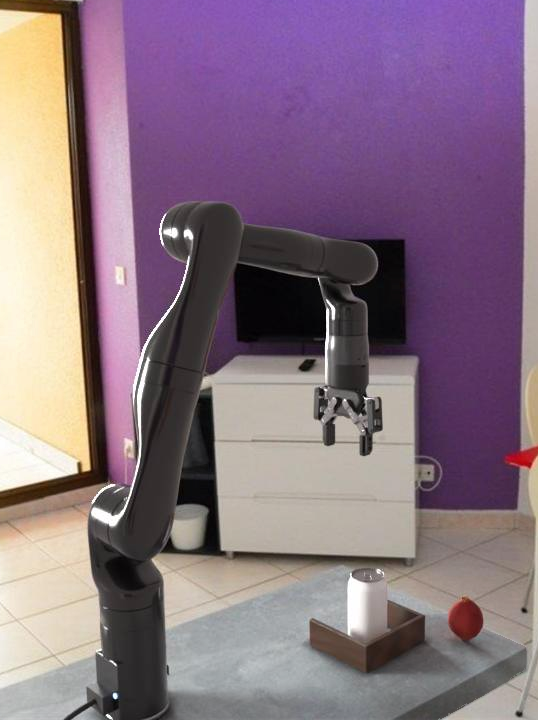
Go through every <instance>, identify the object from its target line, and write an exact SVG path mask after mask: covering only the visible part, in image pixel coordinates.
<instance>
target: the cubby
mask: <svg viewBox="0 0 538 720" xmlns="http://www.w3.org/2000/svg"><path fill="white" fill-rule="evenodd" d="M387 628H390V630H387V632H386V633H384V634H383V635H381V636H379V637H377V638H375V639H373V640H371V641H369V642H367V643H364V642H362V641H360V640H358V639H356V638H354V637H352V636H350V635H348V633H345V632H343V631H341V630H339V629H338V628H335V627H334V626H330V625H328V624H326V623H324V622H322V621H321V620H318V619H316V618H314V617H312V618H310V619H309V645H310V646H311V647H314V648H315V649H318V650H320V651H321V652H323V653H324V654H327V655H329V656H331V657H333V658H334V659H337V660H339V661H341V662H343V663H345V664H347V665H349V666H351V667H353V668H354V669H357V670H358V671H361V672H362V673H364V674H368V673H369V672H371V671H373V670H376V669H377V668H379V667H380V666H382V665H384V664H386V663H387V662H389V661H391V660H393V659H394V658H397V657H398V656H399V655H401V654H403V653H405V652H407V651H408V650H410V649H413V648H414V647H416V646H417V645H419V644H421V643H423V642H425V641H426V615H425V614H423V613H420V612H418V611H416V610H414V609H411V608H409V607H406V606H405V605H401V604H399V603H397V602H394V601H391V600H390V599H387Z"/></svg>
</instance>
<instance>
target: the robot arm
mask: <svg viewBox="0 0 538 720" xmlns="http://www.w3.org/2000/svg"><path fill="white" fill-rule="evenodd" d="M159 235H160V240H161V244H162V246H163V248H164V250H165V251H166V253H168V255H169V256H171V258H173V259H174V260H177V261H178V262H181V263H184V264H187V265H186V270H185V274H184V277H183V281H182V284H181V286H180V290H179V292H178V294H177V296H176V298H175V300H174V302H173V303H172V305H171V306H170V308H169V309H168V310H167V312H166V313H165V314H164V316H162V318H161V320H160V321H159V322H158V323H157V325H156V327H155V328H154V329H153V331H152V332H151V334H150V335H149V337H148V339H147V341H146V343H145V344H144V346H143V349H142V352H141V356H140V359H139V364H138V368H137V372H136V376H135V379H134V384H133V387H132V388H133V389H132V409H133V416H134V423H135V424H134V425H135V430H136V431H135V432H136V439H137V459H136V466H135V470H134V474H133V478H132V482H131V484H130V485H129V484H127V483H114V484H113V483H112V484H110V485H108V486H106V487H104V488H102V489H101V490H100V491H99V492H98V494H96V496H94V499H93V500H92V502H91V505H90V507H89V511H88V515H87V525H86V526H87V543H88V553H89V561H90V562H89V564H90V573H91V577H92V581H93V583H94V585H95V588H96V590H97V593H98V595H97V596H98V614H99V615H98V616H99V633H100V635H99V637H100V649H98V650H96V651H95V656H94V657H95V673H96V681H94V682H92V683H90V684H87V685H86V687H85V688H86V702H85V703H84V704H82V705H80V706H79V707H77V708H76V709H74V710H73V711H72V712H70V713H69V714H68V715H66V716H65V717H64V718H63V719H62V720H73V719H74V718H76V717H78V716H79V715H80V714H82V713H84V712H85V711H86V710H88V709H89V708H93V709H94V710H95V711H96V712H98V713H99V714H100V715H101V716H103V717H104V718H106V720H158V719H159V718H161V717H162V716H164V715H165V713H167V711H168V709H169V707H170V697H169V685H168V682H169V681H168V676H170V666H169V664H168V659H167V657H168V655H167V634H166V633H167V632H166V604H165V582H164V576H163V575H162V573H161V571H160V569H158V567H157V565H155V563H154V562H153V560H152V559H155V557H156V556H158V555H159V554H160V553H161V552H162V550H163V549H164V548H165V546H166V545H167V544H168V543H167V542H168V540H169V539H170V536H171V534H172V530H173V526H174V522H175V516H176V509H177V502H178V495H179V489H180V481H181V475H182V469H183V463H184V458H185V453H186V449H187V445H188V441H189V436H190V431H191V427H192V423H193V419H194V415H195V411H196V410H195V409H196V407H197V403H198V400H199V398H200V397H199V396H200V393H201V388H202V385H203V382H204V378H205V373H206V367H207V363H208V359H209V354H210V350H211V345H212V344H213V343H212V342H213V339H214V335H215V332H216V328H217V325H218V322H219V317H220V314H221V310H222V307H223V304H224V301H225V297H226V295H227V292H228V289H229V286H230V284H231V281H232V278H233V276H234V273H235V270H236V268H237V265H238V264H243V265H247V266H253V267H257V268H261V269H266V270H270V271H274V272H278V273H284V274H288V275H293V276H299V277H305V278H316V279H317V280H318V283H319V286H320V291H321V295H322V299H323V303H324V305H325V310H326V336H325V337H326V338H325V345H324V354H325V355H324V356H325V357H324V358H325V359H324V366H325V367H324V369H325V370H324V371H325V372H324V373H325V375H324V376H325V378H324V379H325V380H324V382H325V383H324V384H325V385H321V386H317V387H315V388H314V391H313V414H312V416H313V419H314V420H315V421H319V422H320V424H321V426H322V441H323V445H324V447H325V446H327V447H331V446H334V445H335V444H336V423H335V422H336V420H337V419H338V417H344V418H346V419H348V420H349V419H350V420H351V422H352V424H353V425H355V426H356V427H357V429H358V432H359V433H360V434H359V437H358V438H359V444H358V445H359V446H358V447H359V449H358V450H359V451H358V452H359V456H360V457H367V456H370V455H371V454H372V452H373V447H374V446H373V444H374V443H373V439H374V438H373V436H374V434H376V433H380V432H382V431H383V429H384V426H383V402H382V400H383V399H382V398H381V396H375V397H370V396H368V394H367V393H368V392H367V388H368V386H369V384H370V343H369V335H368V333H369V332H368V327H369V325H368V322H369V321H368V320H369V319H368V317H369V316H368V305H367V302H366V301H365V300H363V299H361V298H360V297H358V296H355V294H354V293H353V291H352V289H351V285H352V286H361V285H365V284H367V283H369V282H370V281H371V280H373V278H374V277H375V276H376V274H377V271H378V268H379V261H378V260H379V259H378V257H377V254H376V252H375V251H374V249H372V247H370V246H369V245H367V244H365V243H364V242H359V241H352V240H345V239H335V238H328V237H325V236H321V235H319V234H315V233H310V232H307V231H301V230H297V229H291V228H285V227H277V226H268V225H267V226H265V225H257V224H252V223H251V224H250V223H245V222H244V220H243V217H242V215H241V213H240V211H239V209H237V208H236V206H234V205H233V204H231V203H229V202H225V201H216V200H215V201H213V200H212V201H211V200H189V201H184V202H180V203H178V204H175V205H174V206H172V207H171V208H170V209H169V210H168V211H166V213H165V214H164V216H163V218H162V220H161V223H160V228H159ZM360 415H361V416H360Z"/></svg>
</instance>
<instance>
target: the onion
mask: <svg viewBox="0 0 538 720" xmlns="http://www.w3.org/2000/svg"><path fill="white" fill-rule="evenodd" d="M446 619H447V625H448V627H449V629H450V631H451V632H452V633H453V634H454V635H455V636H456V637H457V638H459V639H460V640H461V641H462V642H468V641H470V640H472V639H474V638H476V637H477V636H478V635H479V634H480V633H481V631H482V629H483V627H484V623H485V622H484V615H483V612H482V609H481V608H480V606H479V605H478V604H477V603H476V602H475V601H473V600H472V599H471V598H469V596H468V595H462V596H461V597H460V599H459V600H458V601H456V602H455V603H454V604H452V606H451V608H450V609H449V610H448V614H447V617H446Z"/></svg>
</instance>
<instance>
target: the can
mask: <svg viewBox="0 0 538 720" xmlns="http://www.w3.org/2000/svg"><path fill="white" fill-rule="evenodd" d="M385 577H386V574H385V572H384V571H382V570H381V569H379V568H376V567H369V566H367V567H366V566H365V567H359V568H355V569H354V570H351V572H350V578H349V580H348V581H347V634H348V635H350V636H352V637H354V638H356V639H358V640H360V641H362V642H364V643H367V642H369V641H371V640H373V639H375V638H377V637H379V636H381V635H383V634H384V633H386V632H388V627H387V600H388V582H387V580H386V578H385Z"/></svg>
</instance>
